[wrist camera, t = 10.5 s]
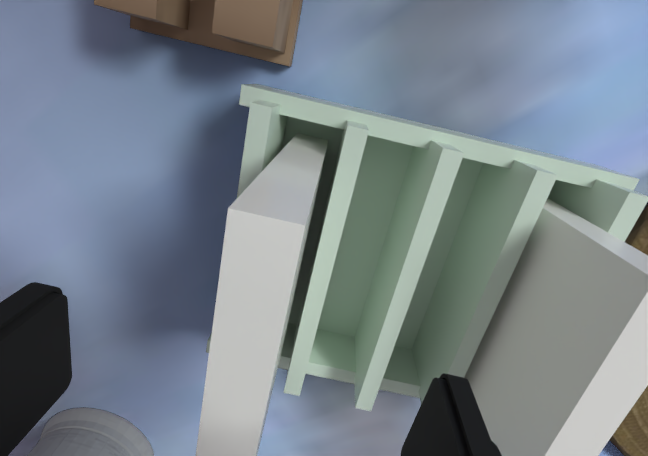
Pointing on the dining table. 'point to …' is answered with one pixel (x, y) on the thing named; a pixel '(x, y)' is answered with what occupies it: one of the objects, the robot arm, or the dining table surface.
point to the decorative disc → (644, 417)
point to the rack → (463, 273)
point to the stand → (220, 24)
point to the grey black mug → (90, 435)
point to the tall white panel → (257, 296)
